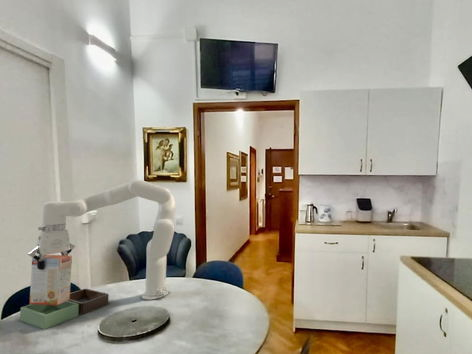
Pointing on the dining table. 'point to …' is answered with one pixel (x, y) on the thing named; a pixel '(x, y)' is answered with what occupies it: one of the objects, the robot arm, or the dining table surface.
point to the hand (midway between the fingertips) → (52, 266)
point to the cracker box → (51, 280)
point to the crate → (94, 296)
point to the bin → (48, 314)
